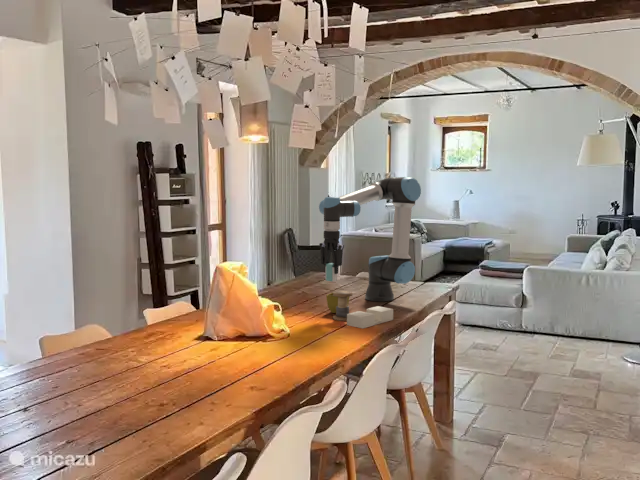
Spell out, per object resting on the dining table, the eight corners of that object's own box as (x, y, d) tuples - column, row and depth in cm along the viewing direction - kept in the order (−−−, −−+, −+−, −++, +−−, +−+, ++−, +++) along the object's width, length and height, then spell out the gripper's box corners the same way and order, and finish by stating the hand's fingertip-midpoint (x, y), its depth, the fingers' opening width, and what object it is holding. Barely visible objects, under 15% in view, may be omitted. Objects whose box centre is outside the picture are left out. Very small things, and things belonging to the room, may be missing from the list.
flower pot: (325, 313, 300) (325, 294, 299) (333, 309, 307) (333, 291, 306) (342, 315, 296) (342, 296, 295) (350, 311, 303) (350, 293, 302)
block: (331, 279, 295) (331, 262, 295) (336, 280, 293) (336, 263, 292) (326, 280, 293) (326, 263, 292) (331, 281, 291) (331, 264, 290)
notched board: (377, 316, 293) (377, 306, 292) (393, 319, 287) (393, 308, 286) (346, 325, 277) (346, 314, 276) (362, 328, 271) (362, 317, 270)
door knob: (341, 315, 295) (341, 290, 294) (356, 318, 289) (356, 292, 288) (328, 318, 289) (328, 293, 287) (343, 321, 283) (343, 295, 281)
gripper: (313, 229, 293) (312, 278, 296) (340, 231, 282) (339, 283, 285) (323, 228, 299) (323, 277, 301) (350, 230, 288) (350, 281, 290)
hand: (331, 279), depth 293 cm, fingers closed on block, 3 cm apart
